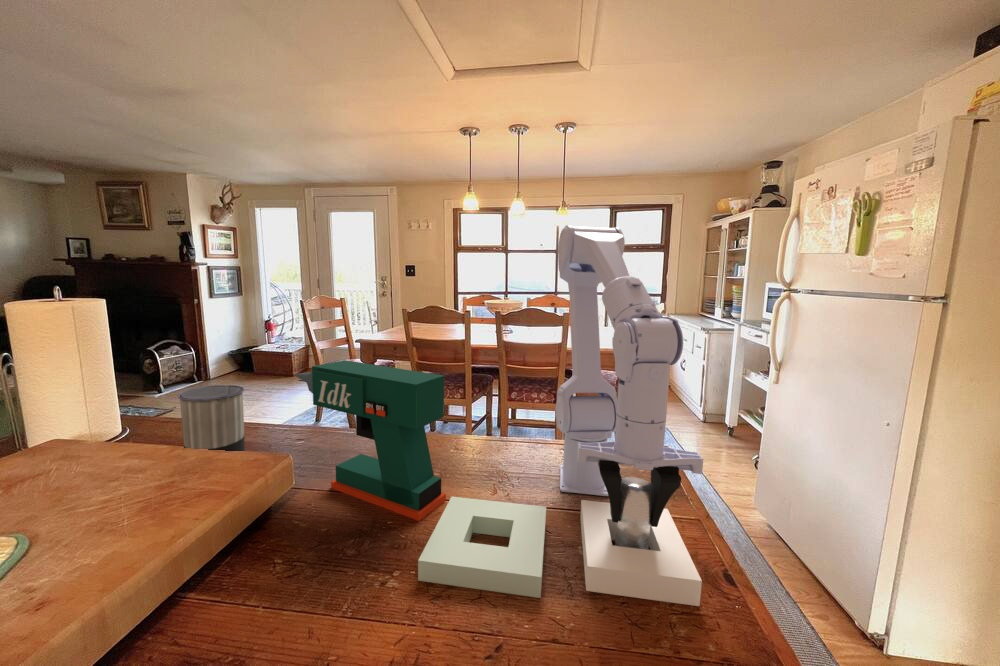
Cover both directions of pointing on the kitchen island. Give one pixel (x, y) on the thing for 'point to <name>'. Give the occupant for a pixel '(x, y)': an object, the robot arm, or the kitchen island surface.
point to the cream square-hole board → (637, 560)
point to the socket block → (487, 547)
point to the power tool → (385, 432)
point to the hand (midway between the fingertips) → (633, 520)
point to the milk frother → (213, 418)
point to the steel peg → (634, 513)
